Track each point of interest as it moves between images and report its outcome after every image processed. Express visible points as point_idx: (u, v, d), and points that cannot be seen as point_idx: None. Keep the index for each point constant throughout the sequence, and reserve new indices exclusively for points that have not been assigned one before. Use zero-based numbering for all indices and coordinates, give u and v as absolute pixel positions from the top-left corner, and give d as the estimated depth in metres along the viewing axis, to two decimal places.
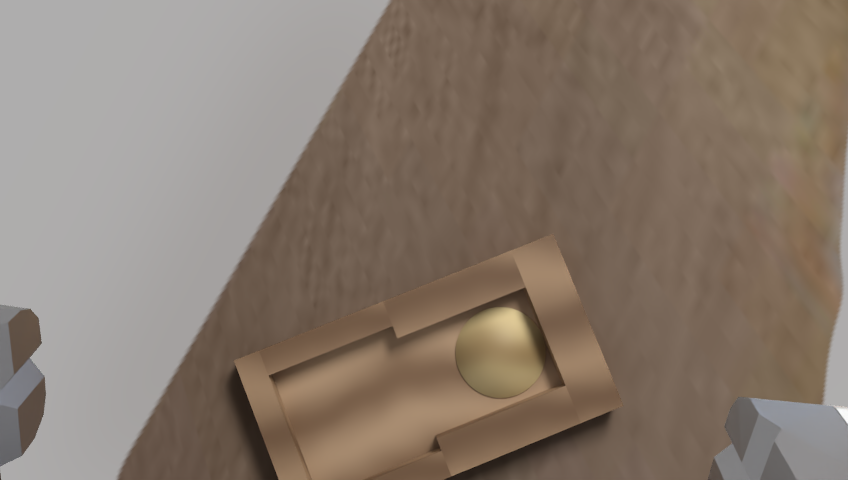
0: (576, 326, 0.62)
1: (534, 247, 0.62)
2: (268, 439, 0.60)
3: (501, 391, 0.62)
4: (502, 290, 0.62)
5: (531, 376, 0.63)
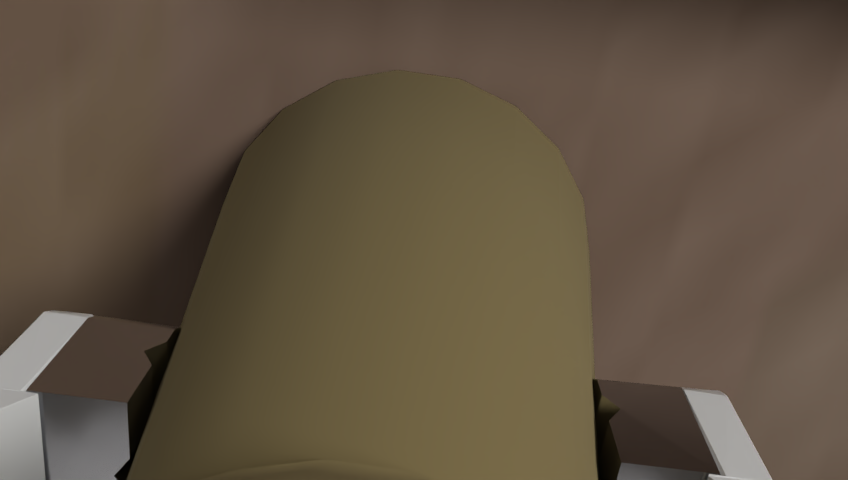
0: None
1: None
2: None
3: None
4: None
5: None
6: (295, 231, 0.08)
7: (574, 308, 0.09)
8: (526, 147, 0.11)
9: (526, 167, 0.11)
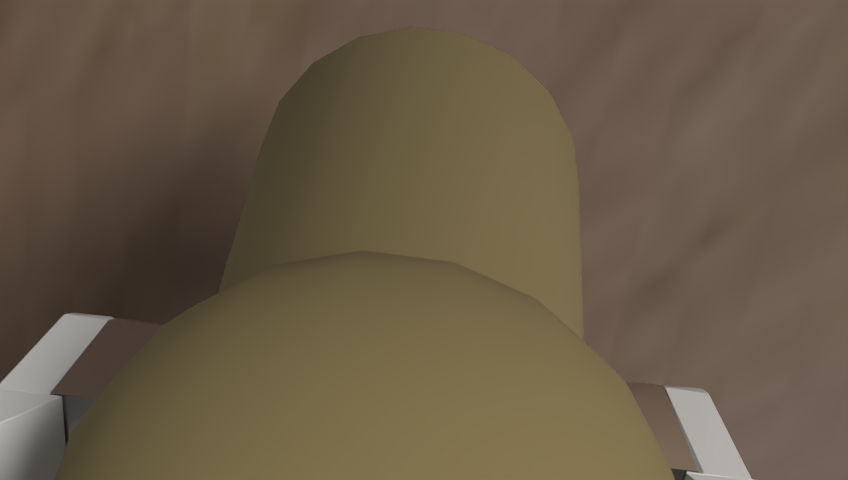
0: None
1: None
2: None
3: None
4: None
5: None
6: (335, 138, 0.10)
7: (562, 205, 0.11)
8: (521, 87, 0.13)
9: (522, 101, 0.13)
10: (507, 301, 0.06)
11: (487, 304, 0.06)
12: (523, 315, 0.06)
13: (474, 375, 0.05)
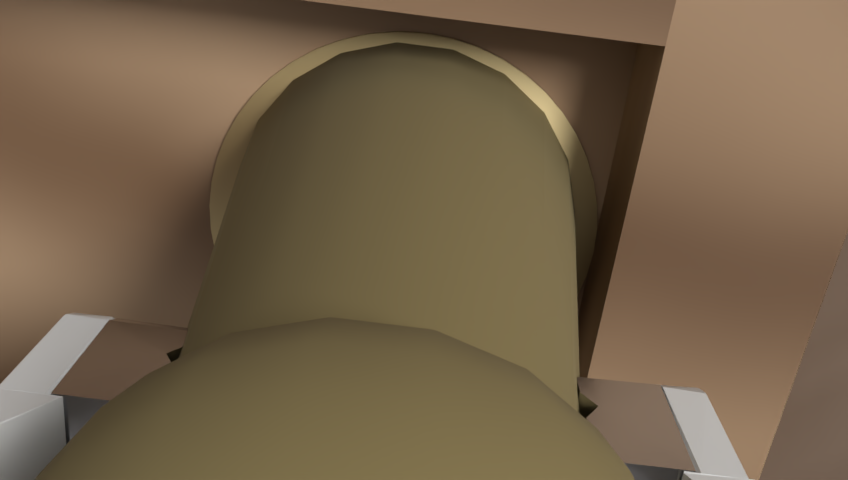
0: (749, 318, 0.13)
1: None
2: None
3: None
4: (552, 3, 0.12)
5: None
6: (310, 170, 0.10)
7: (556, 238, 0.10)
8: (513, 107, 0.12)
9: (514, 123, 0.12)
10: (494, 382, 0.05)
11: (471, 391, 0.05)
12: (512, 400, 0.05)
13: None
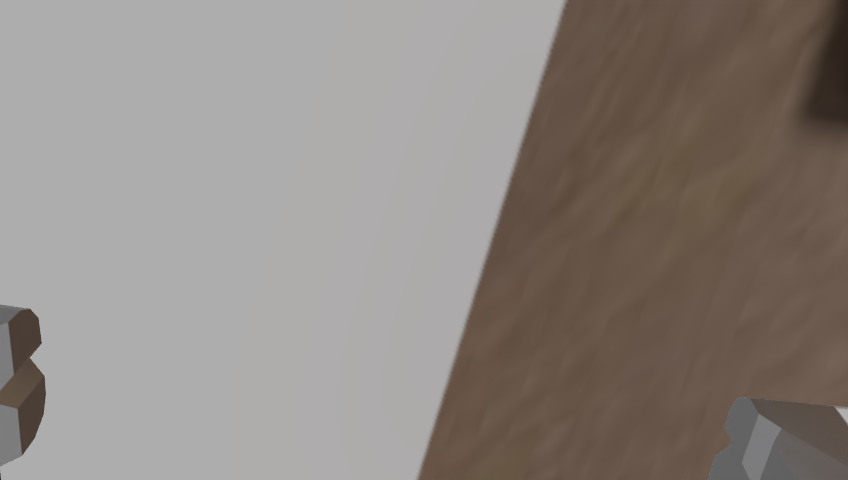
0: None
1: None
2: None
3: None
4: None
5: None
6: None
7: None
8: None
9: None
10: None
11: None
12: None
13: None
